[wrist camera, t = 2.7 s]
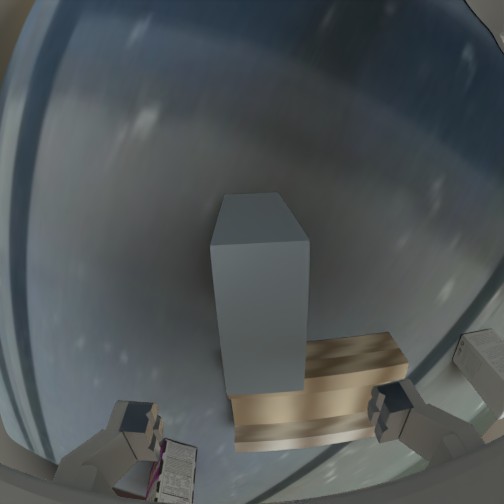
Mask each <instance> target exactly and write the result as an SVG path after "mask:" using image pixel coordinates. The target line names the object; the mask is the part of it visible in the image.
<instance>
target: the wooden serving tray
mask: <svg viewBox="0 0 504 504" xmlns="http://www.w3.org/2000/svg"><path fill="white" fill-rule="evenodd" d="M408 365H409V362H408V360H407V359H406V357H405V356H404V354H403V353H402V351H401V350H400V348H399V347H398V345H397V344H396V342H395V341H394V339H393V338H392V336H391V335H390V333H389V332H386V333H379V334H371V335H364V336H356V337H348V338H339V339H330V340H320V341H310V342H307V344H306V361H305V376H304V390H301V391H291V392H279V393H265V394H248V395H228V399H231V401H232V409H233V417H234V424H235V448H236V453H238V452H261V451H275V450H287V449H297V448H305V447H314V446H321V445H328V444H334V443H340V442H346V441H352V440H357V439H362V438H367V437H372V436H376V435H375V432H374V430H375V427H376V426H374V425H373V424H371V423H370V421H369V418H368V414H367V406H368V402H369V400H370V399H371V398H372V395H371V390H372V388H373V386H377V385H381V384H386V383H390V382H391V381H394V380H399V379H404V378H405V375H406V372H407V369H408Z"/></svg>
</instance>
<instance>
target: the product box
mask: <svg viewBox="0 0 504 504" xmlns="http://www.w3.org/2000/svg"><path fill="white" fill-rule="evenodd" d="M210 253H211V264H212V274H213V284H214V293H215V303H216V312H217V321H218V329H219V338H220V346H221V354H222V362H223V370H224V378H225V385H226V393H227V395H248V394H265V393H279V392H291V391H301V390H304V376H305V361H306V344H307V324H308V299H309V264H310V240H309V238H308V237H307V235H306V234H305V232H304V231H303V229H302V228H301V226H300V225H299V223H298V222H297V220H296V218H295V217H294V215H293V214H292V212H291V211H290V209H289V208H288V206H287V205H286V203H285V202H284V201H283V199H282V198H281V196H280V195H279V193H278V192H269V193H248V194H230V195H224V198H223V201H222V205H221V208H220V211H219V215H218V218H217V222H216V225H215V229H214V233H213V236H212V240H211V243H210Z"/></svg>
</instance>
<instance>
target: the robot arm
mask: <svg viewBox="0 0 504 504" xmlns="http://www.w3.org/2000/svg"><path fill="white" fill-rule="evenodd" d="M465 1H466V2H467V4H468V5H469V6H470V8H471V9H472V10H473V11H474V13H475V14H476V15H477V16H478V17H479V19H480V20H481V21H482V22H483V23H484V24H485V25H486V26H487V27H488V28H489V30H490V31H491V32H492V34H493V35H494V37H495V39H496V41H497V43H498V45H499V46H500V48H501V50H502V52H503V53H504V0H465ZM371 395H372V398H371V399H370V400H369V402H368V406H367V414H368V418H369V421H370V423H371V424H373V425H374V426H376V427H375V430H374V432H375V435H376V437H377V439H378V442H379V443H383V442H387V441H392V440H396V439H399V440H400V441H401V442H402V443H404V444H405V445H406V446H408V447H409V448H410V449H412V450H413V451H415V452H416V453H417V454H419V455H420V456H421V457H423V458H424V459H426V460H427V461H428V462H429V463H428V465H427V466H426V468H425V470H423V471H420V472H417V473H414V474H411V475H408V476H405V477H402V478H399V479H395V480H392V481H388V482H385V483H381V484H377V485H374V486H370V487H366V488H361V489H357V490H353V491H348V492H343V493H338V494H333V495H327V496H321V497H315V498H309V499H302V500H294V501H285V502H275V503H262V504H504V435H503V436H501V437H499V438H497V439H495V440H493V441H491V442H490V443H487V444H485V442H484V441H483V439H482V438H481V436H480V435H479V433H478V432H477V430H476V429H475V427H474V426H473V425H472V424H470V423H468V422H466V421H464V420H462V419H459V418H457V417H455V416H453V415H451V414H449V413H447V412H445V411H443V410H441V409H439V408H437V407H435V406H433V405H431V404H425V402H424V401H423V399H422V397H421V396H420V394H419V393H418V391H417V390H416V388H415V387H414V385H413V384H412V382H411V381H410V380H409V379H404V380H400V381H395V382H391V383H386V384H381V385H377V386H373V388H372V390H371ZM162 439H163V422H162V418H161V417H160V416H159V415H158V407H157V404H156V403H149V402H136V401H122V400H118V401H117V402H116V404H115V406H114V409H113V411H112V414H111V417H110V419H109V422H108V425H107V427H106V430H101V431H100V432H98V433H97V434H95V435H94V436H93V437H91V438H90V439H89V440H87V441H86V442H84V443H83V444H82V445H80V446H79V447H77V448H76V449H75V450H73V451H72V452H70V453H69V454H68V455H66V456H65V457H63V458H62V459H61V462H60V464H59V466H58V469H57V472H56V474H55V476H54V479H53V481H49V480H45V479H42V478H39V477H36V476H33V475H30V474H27V473H24V472H21V471H19V470H16V469H13V468H10V467H8V466H5V465H3V464H1V463H0V504H175V503H163V502H153V501H144V500H136V499H129V498H123V497H118V496H117V495H116V494H115V492H114V491H113V490H112V489H111V488H112V487H113V486H114V485H115V484H116V483H117V482H118V481H119V480H120V479H121V478H122V477H123V476H124V475H125V474H126V473H127V472H128V471H129V469H130V468H131V467H132V466H133V465H134V464H135V463H136V462H137V460H142V461H158V460H159V454H160V449H161V448H160V445H159V442H160V441H161V440H162Z"/></svg>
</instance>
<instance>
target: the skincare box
mask: <svg viewBox="0 0 504 504" xmlns="http://www.w3.org/2000/svg"><path fill="white" fill-rule="evenodd" d="M453 362H454V363H455V364H456V365H457V367H458V368H459V369H460V370H461V372H462V373H463V374H464V375H465V377H466V378H467V379H468V381H469V382H470V383H471V384H472V386H473V387H474V388H475V390H476V391H477V392H478V394H479V395H480V396H481V398H482V399H483V400H484V402H485V403H486V404H487V406H488V407H489V408H490V410H491V411H492V412H493V414H494V415H495V416H496V418H497V419H498V420H500V419H502V418H504V340H503V339H502V338H501V337H500V336H499V335H497V334H496V333H495V332H494V331H493V330H492V329H488V330H483V331H479V332H474V333H468V334H463V335H462V336H461V339H460V341H459V344H458V347H457V350H456V352H455V355H454V357H453Z"/></svg>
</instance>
